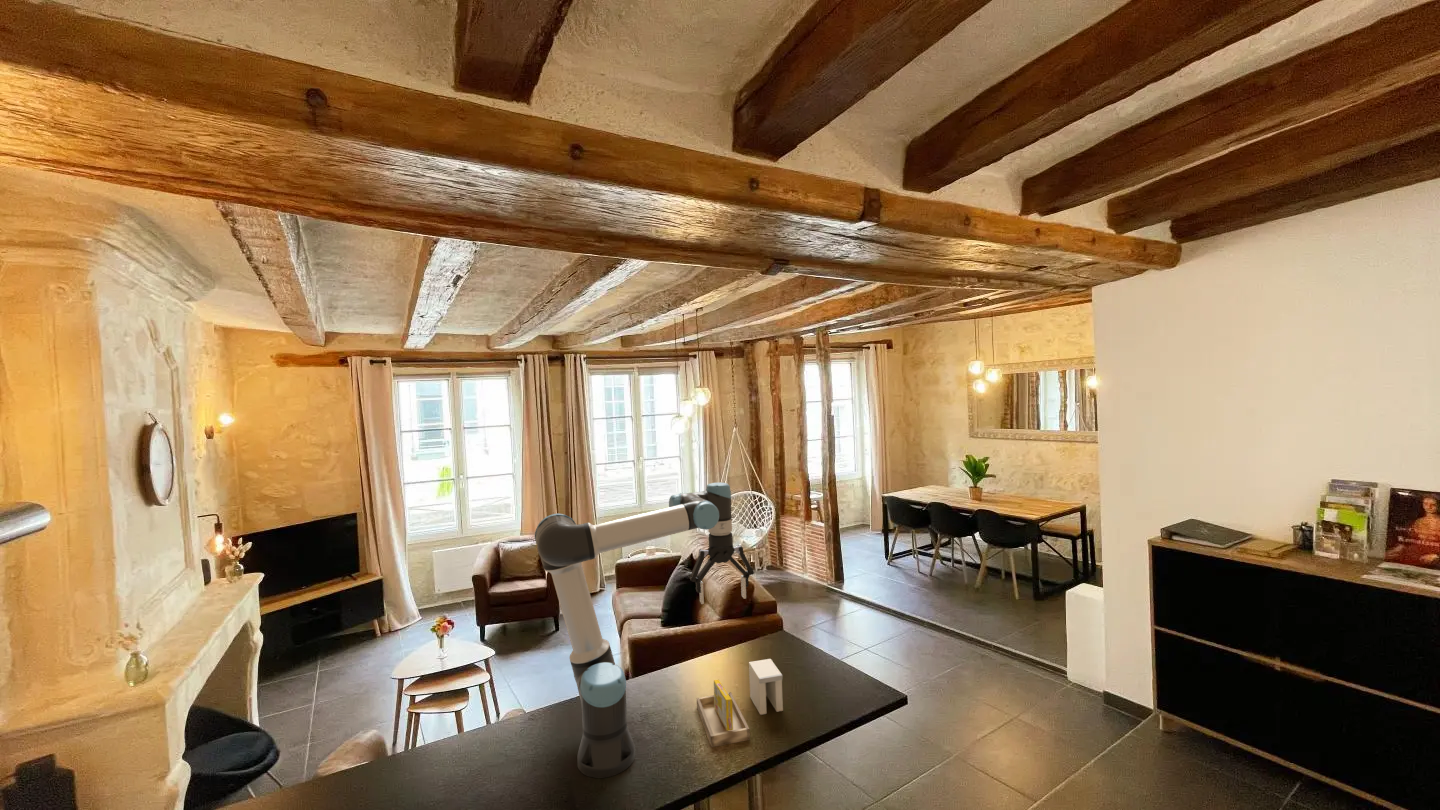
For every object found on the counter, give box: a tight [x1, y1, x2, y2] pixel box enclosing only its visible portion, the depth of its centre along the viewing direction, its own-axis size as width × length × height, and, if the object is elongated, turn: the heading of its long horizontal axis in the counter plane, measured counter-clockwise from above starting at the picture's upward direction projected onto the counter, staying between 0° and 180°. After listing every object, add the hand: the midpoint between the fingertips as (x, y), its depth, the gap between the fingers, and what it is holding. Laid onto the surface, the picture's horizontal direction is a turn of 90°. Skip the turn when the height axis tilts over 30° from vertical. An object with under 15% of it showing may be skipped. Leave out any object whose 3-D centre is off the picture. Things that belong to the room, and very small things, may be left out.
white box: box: [748, 658, 784, 716], centre depth 172 cm, size 7×11×11 cm, turn 14°
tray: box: [696, 691, 751, 748], centre depth 164 cm, size 11×20×3 cm, turn 14°
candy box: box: [713, 679, 733, 731], centre depth 163 cm, size 16×2×8 cm, turn 14°
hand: (723, 600), depth 175 cm, fingers open, 13 cm apart
